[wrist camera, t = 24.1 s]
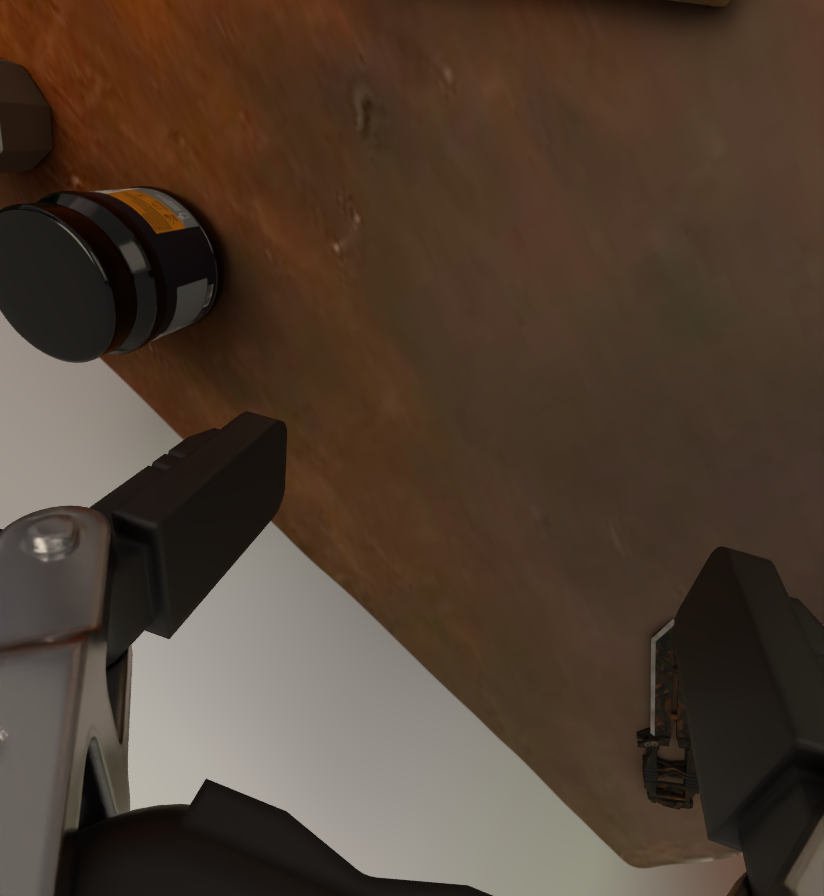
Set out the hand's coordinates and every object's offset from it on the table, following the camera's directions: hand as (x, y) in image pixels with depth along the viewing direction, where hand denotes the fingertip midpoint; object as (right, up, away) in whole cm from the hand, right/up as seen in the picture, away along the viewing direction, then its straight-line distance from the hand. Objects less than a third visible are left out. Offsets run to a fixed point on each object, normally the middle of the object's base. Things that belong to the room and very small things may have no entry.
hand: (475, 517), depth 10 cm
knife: (+23, -24, +41) cm, 53 cm away
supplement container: (-20, +17, +33) cm, 42 cm away
